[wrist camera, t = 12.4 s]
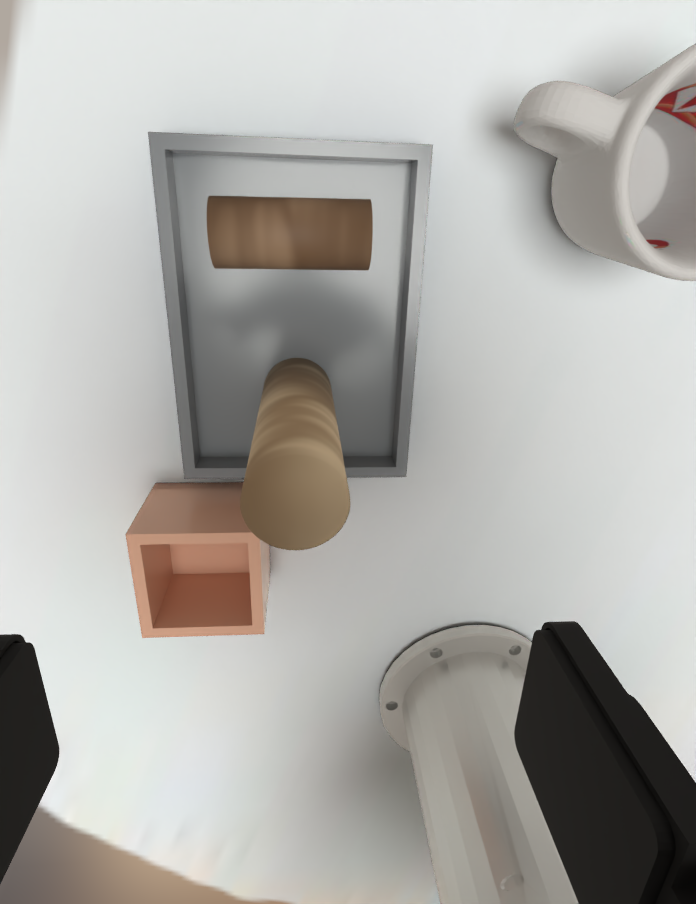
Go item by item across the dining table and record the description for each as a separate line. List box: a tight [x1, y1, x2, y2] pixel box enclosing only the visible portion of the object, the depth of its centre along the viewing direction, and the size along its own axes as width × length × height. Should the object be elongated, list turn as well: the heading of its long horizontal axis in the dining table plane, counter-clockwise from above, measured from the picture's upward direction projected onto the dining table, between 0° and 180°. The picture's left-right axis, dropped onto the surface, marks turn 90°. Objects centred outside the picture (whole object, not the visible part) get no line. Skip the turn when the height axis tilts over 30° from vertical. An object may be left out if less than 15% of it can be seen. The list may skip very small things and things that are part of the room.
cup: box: [514, 44, 696, 281], centre depth 22 cm, size 11×8×8 cm
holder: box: [126, 482, 270, 638], centre depth 29 cm, size 6×6×6 cm
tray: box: [148, 132, 433, 479], centre depth 26 cm, size 12×16×2 cm
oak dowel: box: [240, 358, 350, 550], centre depth 23 cm, size 4×4×12 cm
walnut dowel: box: [207, 196, 373, 270], centre depth 24 cm, size 7×3×3 cm
